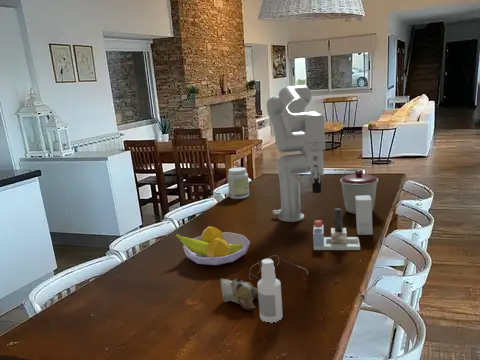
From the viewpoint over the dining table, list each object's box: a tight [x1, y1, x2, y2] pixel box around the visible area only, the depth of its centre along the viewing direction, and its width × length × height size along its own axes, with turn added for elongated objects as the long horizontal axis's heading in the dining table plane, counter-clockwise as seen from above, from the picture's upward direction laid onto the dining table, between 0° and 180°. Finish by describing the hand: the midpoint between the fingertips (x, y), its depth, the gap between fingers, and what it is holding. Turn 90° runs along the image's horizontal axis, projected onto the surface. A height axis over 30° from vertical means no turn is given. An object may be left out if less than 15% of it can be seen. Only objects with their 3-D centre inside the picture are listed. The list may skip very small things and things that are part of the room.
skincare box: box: [355, 195, 374, 236], centre depth 186 cm, size 8×7×16 cm
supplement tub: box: [227, 167, 250, 200], centre depth 256 cm, size 12×12×17 cm
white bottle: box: [256, 258, 283, 324], centre depth 125 cm, size 7×7×18 cm
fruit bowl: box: [175, 225, 251, 266], centre depth 172 cm, size 28×27×11 cm
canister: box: [339, 169, 379, 215], centre depth 212 cm, size 18×18×21 cm
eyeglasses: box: [248, 254, 309, 280], centre depth 152 cm, size 16×15×5 cm
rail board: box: [312, 224, 361, 251], centre depth 175 cm, size 18×10×7 cm, turn 79°
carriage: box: [330, 207, 348, 243], centre depth 173 cm, size 6×6×14 cm
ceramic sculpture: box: [219, 278, 258, 311], centre depth 136 cm, size 11×9×15 cm
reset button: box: [313, 219, 323, 227], centre depth 175 cm, size 3×3×2 cm
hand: (317, 190), depth 172 cm, fingers open, 4 cm apart
